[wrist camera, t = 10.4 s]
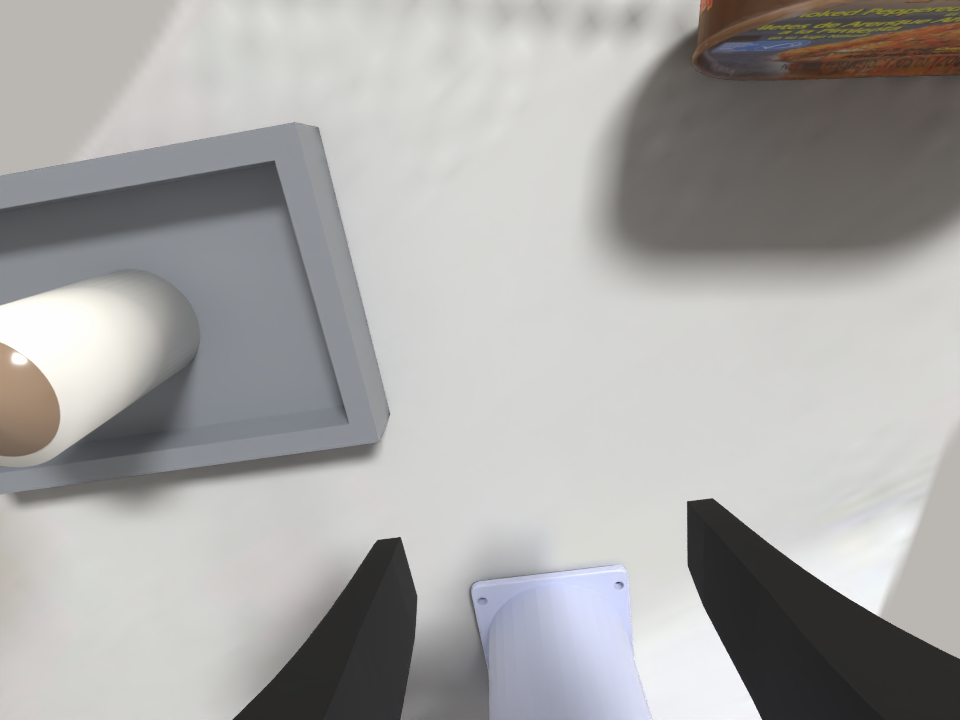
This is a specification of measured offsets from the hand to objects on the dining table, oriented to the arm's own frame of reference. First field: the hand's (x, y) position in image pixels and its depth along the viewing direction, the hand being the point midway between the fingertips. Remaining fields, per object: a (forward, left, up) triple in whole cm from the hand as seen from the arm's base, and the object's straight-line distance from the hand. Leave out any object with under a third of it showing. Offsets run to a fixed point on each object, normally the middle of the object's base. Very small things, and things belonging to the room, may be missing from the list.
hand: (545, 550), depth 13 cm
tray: (+5, +15, -10) cm, 19 cm away
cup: (+5, +15, -10) cm, 19 cm away
